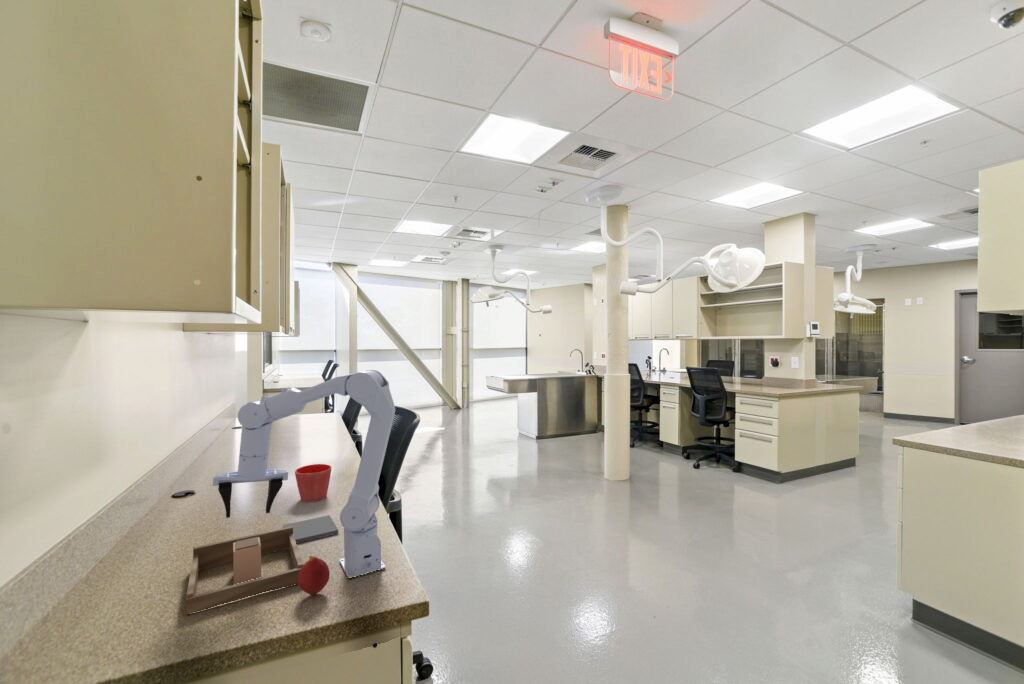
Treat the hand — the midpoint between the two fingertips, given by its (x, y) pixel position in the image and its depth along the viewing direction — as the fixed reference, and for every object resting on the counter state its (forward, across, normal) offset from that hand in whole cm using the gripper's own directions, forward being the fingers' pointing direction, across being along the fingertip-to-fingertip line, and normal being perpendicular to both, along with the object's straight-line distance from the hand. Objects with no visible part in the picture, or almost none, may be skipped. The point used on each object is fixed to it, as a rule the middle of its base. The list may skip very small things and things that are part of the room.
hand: (248, 513), depth 99 cm
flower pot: (+13, -20, -40) cm, 46 cm away
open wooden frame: (+12, -1, +5) cm, 13 cm away
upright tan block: (+12, -1, +5) cm, 13 cm away
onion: (+10, -12, +20) cm, 26 cm away
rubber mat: (+12, -16, -12) cm, 23 cm away
